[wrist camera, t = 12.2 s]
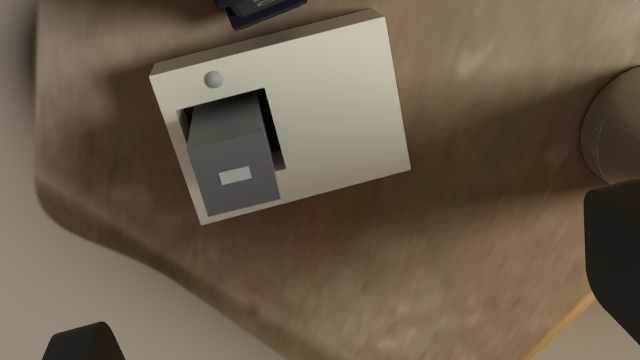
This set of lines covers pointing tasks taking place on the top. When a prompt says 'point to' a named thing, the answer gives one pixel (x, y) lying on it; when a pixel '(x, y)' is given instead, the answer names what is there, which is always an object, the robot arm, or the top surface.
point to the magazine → (255, 10)
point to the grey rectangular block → (232, 154)
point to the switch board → (300, 103)
